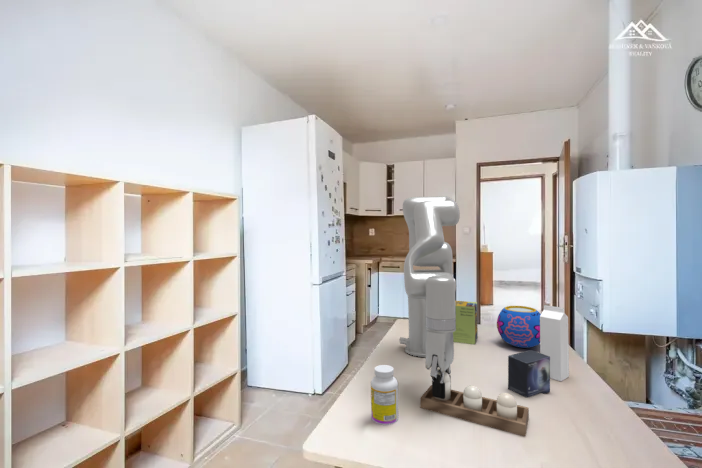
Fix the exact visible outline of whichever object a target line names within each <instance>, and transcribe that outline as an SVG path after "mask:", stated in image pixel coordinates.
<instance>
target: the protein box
mask: <svg viewBox="0 0 702 468" xmlns="http://www.w3.org/2000/svg"><path fill="white" fill-rule="evenodd" d="M455 310H456V331H454V332H453V341H454V343H461V344H468V345H476V343H477V341H478V337H479V336H478V335H479V334H478V332H479V331H478V302H477V301H464V300H463V301H462V300H455Z"/></svg>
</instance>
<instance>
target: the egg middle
mask: <svg viewBox="0 0 702 468" xmlns="http://www.w3.org/2000/svg"><path fill="white" fill-rule="evenodd" d="M462 392H463V407H464V408H468V409H472V410H476V411H480V412H482V397H483V395H482V391H481V390H480V389H479V387H477V386H476V385H472V384H471V385H467V386H466V387H464V390H463V391H462Z"/></svg>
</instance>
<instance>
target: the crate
mask: <svg viewBox="0 0 702 468" xmlns="http://www.w3.org/2000/svg"><path fill="white" fill-rule="evenodd" d="M463 392H464V391H460V390H459V391H458V390H455V389H451V398H450V399H449V400H439V399H436V398H435V397H434V396H433V395H432V384H431V385H429V387H428V388H427V389H426V390H425V392H424V393H423V394H422V395H421V396H420V398H419V399H420V400H419V401H420V406H419V408H420V409H423V410H427V411H431V412H434V413H439V414H442V415H446V416H449V417H453V418H456V419H460V420H464V421H466V422H472V423H475V424H477V425H482V426H486V427H488V428H493V429H496V430H500V431H504V432H508V433H512V434H515V435H518V436H523V437H524V438H525V437H526V436H527V431H528V425H529V419H530V415H529V414H530V413H529V411H530V410H529V408H530V407H528V406H523V405H521V404H520V405H519V404H517V421H515V420H511V419H507V418H503V417H499V416H497V399H494V398H489V397H484V396H482V412H480V411H476V410H472V409H468V408H464V407H463Z"/></svg>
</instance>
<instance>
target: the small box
mask: <svg viewBox="0 0 702 468" xmlns="http://www.w3.org/2000/svg"><path fill="white" fill-rule="evenodd" d="M507 357H508V358H507V360H508V361H507V362H508V363H507V371H508V372H507V374H508V375H507V390H509V391H511V392H513V393H515V394H517V395H520V396H521V397H524V398H527V399H528V398H532V397H534V396H538V395H539V394H542V395H546V394H548V393H551V378H550V356H547V355H544V354H541V353H540V352H538V351H535V350H532V349H530V350H525V351H521V352H518V353H513V354H510V355H509V354H508V356H507Z"/></svg>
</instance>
